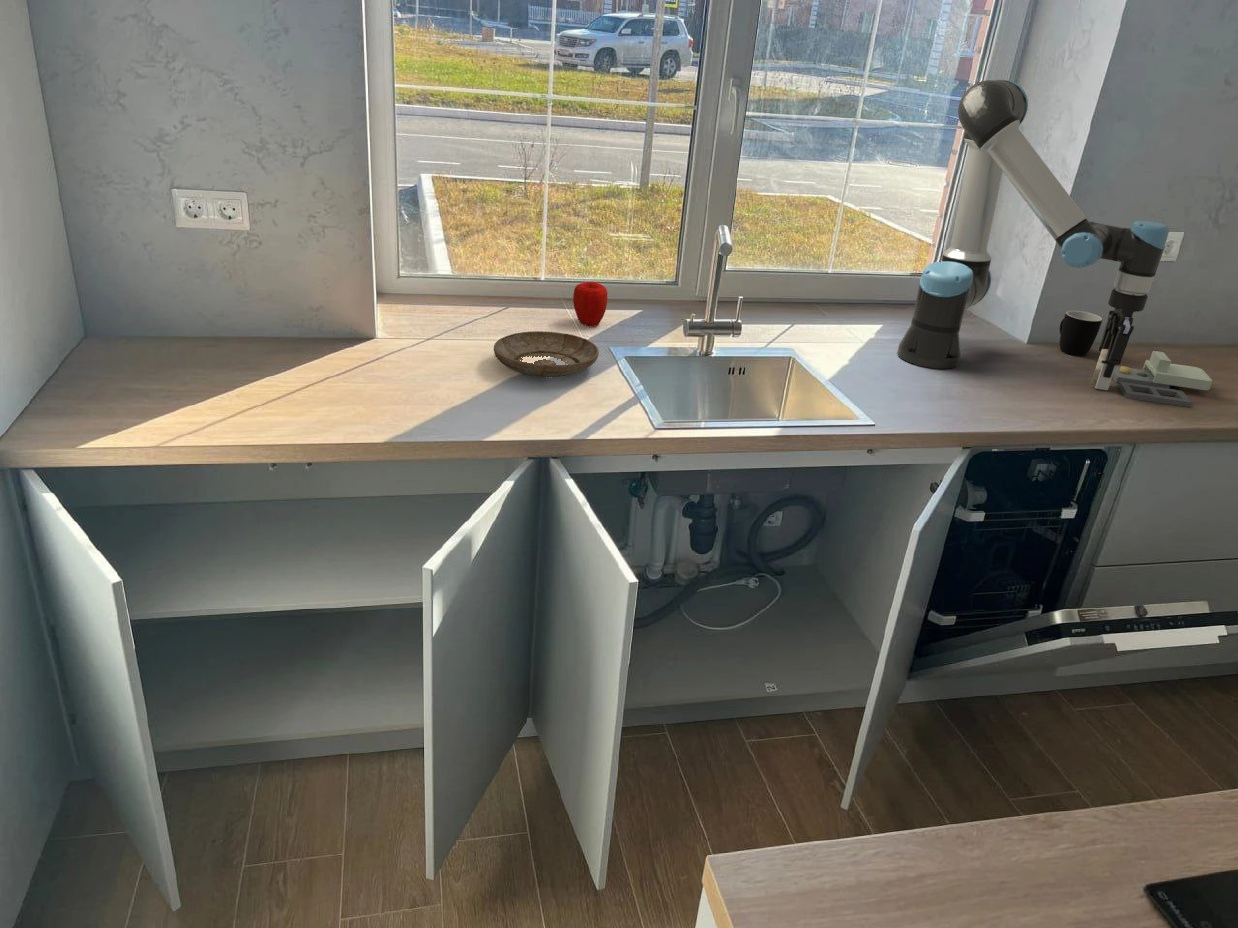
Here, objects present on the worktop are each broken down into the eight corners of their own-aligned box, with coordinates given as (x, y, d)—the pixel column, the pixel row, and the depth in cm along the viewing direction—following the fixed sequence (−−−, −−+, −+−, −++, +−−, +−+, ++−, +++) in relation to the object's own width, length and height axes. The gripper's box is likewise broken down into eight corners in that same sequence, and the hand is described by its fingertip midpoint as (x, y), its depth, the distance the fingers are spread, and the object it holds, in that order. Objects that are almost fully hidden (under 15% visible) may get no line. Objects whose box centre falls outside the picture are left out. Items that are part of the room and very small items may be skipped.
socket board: (1125, 397, 216) (1127, 392, 215) (1118, 386, 223) (1119, 381, 222) (1190, 407, 213) (1191, 402, 212) (1180, 395, 220) (1182, 390, 219)
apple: (575, 317, 239) (577, 276, 234) (608, 321, 238) (611, 280, 234) (568, 327, 231) (570, 285, 227) (602, 331, 231) (605, 289, 226)
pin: (1091, 387, 220) (1102, 352, 216) (1089, 382, 223) (1100, 347, 219) (1107, 390, 219) (1119, 355, 215) (1105, 385, 222) (1116, 350, 218)
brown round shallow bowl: (619, 371, 206) (620, 350, 204) (542, 395, 191) (543, 373, 188) (548, 343, 220) (549, 323, 218) (471, 363, 204) (471, 342, 202)
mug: (1098, 358, 241) (1110, 321, 237) (1068, 358, 240) (1079, 320, 235) (1070, 343, 252) (1081, 307, 247) (1041, 342, 250) (1051, 306, 246)
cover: (1153, 382, 222) (1160, 361, 220) (1142, 368, 231) (1150, 348, 229) (1209, 390, 220) (1218, 369, 217) (1197, 376, 228) (1205, 356, 226)
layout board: (1115, 382, 225) (1119, 372, 224) (1107, 370, 233) (1111, 360, 231) (1168, 390, 222) (1172, 380, 221) (1158, 378, 230) (1162, 368, 229)
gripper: (1157, 302, 202) (1124, 400, 213) (1139, 284, 217) (1108, 377, 227) (1121, 298, 204) (1089, 395, 214) (1105, 280, 218) (1076, 372, 229)
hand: (1099, 385), depth 221 cm, fingers closed on pin, 3 cm apart
